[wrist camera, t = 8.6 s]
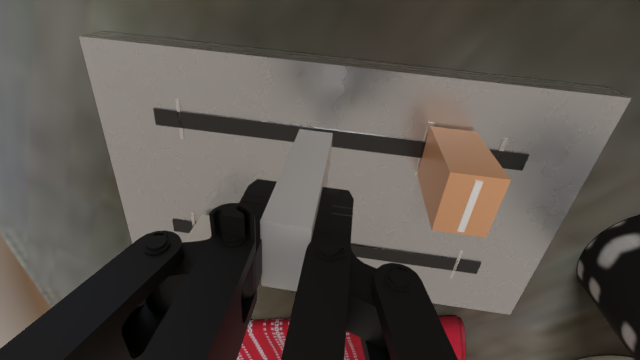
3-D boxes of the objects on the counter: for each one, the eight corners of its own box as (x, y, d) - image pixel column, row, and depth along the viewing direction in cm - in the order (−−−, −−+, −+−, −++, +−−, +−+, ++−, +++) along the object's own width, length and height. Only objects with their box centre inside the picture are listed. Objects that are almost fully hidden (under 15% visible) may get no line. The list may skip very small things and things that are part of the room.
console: (103, 30, 20) (77, 36, 18) (606, 86, 18) (633, 98, 17) (150, 242, 28) (135, 260, 26) (500, 292, 27) (510, 315, 25)
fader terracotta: (430, 126, 18) (450, 173, 14) (476, 131, 18) (511, 181, 14) (417, 175, 20) (431, 231, 15) (459, 180, 20) (486, 239, 15)
